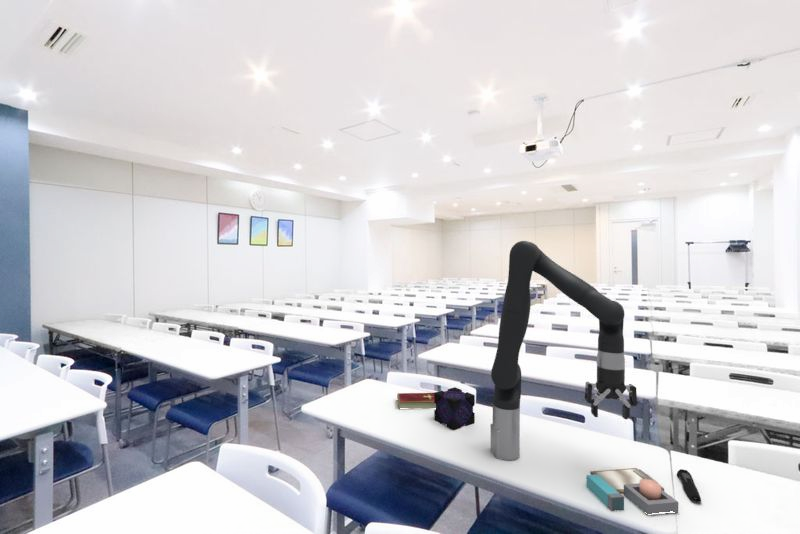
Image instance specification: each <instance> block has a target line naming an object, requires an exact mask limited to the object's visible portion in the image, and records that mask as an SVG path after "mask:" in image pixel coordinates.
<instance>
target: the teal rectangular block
mask: <svg viewBox="0 0 800 534" xmlns="http://www.w3.org/2000/svg"><path fill="white" fill-rule="evenodd" d="M585 478H586V488H587V489H588V490H589V491H590V492H591V493H593V495H594V496H595V497H597V499H599V500H600V502H602V503H603V504H604V505H605V506H606V507H607V508H608V509H609V510H610V511H611V512H615V510H616V512H618V511H617V510H619V511H625V496H624V494H620V493H619V492H618V491H616V490H615V489H614V488H613V487H612V486H611V485H609V484H608V483H607V482H606V481H605V480H604V479H603V478H601V477H600V476H599V475H598V474H595V475H592V474H586V477H585Z"/></svg>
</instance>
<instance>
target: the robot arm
mask: <svg viewBox="0 0 800 534" xmlns="http://www.w3.org/2000/svg"><path fill="white" fill-rule="evenodd" d="M508 260H509V261H508V276H507V283H506V284H507V285H506V287H505V292H504V298H503V301H502V307H501V314H500V320H499V328H498V338H497V339H498V341H497V349H496V353H495V357H494V360H493V361H494V362H493V365H492V368H491V370H490V377H491V380H492V383H493V384H494V389H493V395H492V423H490V451H491V452H492V454H493V455H494V457H495V458H496V459H500V460H506V461H514V460H517V459H519V458H520V454H521V453H520V452H521V450H520V449H521V448H520V446H521V445H520V443H521V439H520V438H521V437H520V436H521V435H520V431H521V428H520V425H521V424H520V423H521V417H520V416H521V412H520V411H521V410H520V409H521V406H520V405H521V398H522V370H521V366H520V365H519V356H520V350H521V348H522V344H523V341H524V339H525V336H526V333H527V330H528V327H529V326H528V325H529V319H530V314H531V312H530V311H531V280H532V276H533V272H534V273H535V274H538V275H540V276H541V277H542V278H544V279H545V280H547V281H548V282H550V284H552V285H553V286H554V287H555V288H556V289H557V290H559V291H560V292H561V293H563V294H564V295H565V296H567V297H568V298H569V299H571V300H572V301H574V302H575V303H577V304H578V305H579V306H581V307H582V308H585V310H587V311H588V312H589V313H590V314H592V316H593V317H595V318H596V319H598V325H599V329H598V330H599V332H598V337H597V338H598V339H597V343H598V344H597V355H596V382H595V383H592V382H589V381H586V382H585V385H584V386H585V389H584V400H585V401H586V403H587V404H590V413H591V415H592V416H594V418H599V405H598V404H599V403H600V402H601V401H603V400H605V399H607V400H610V399H613V400H617V399H619V401H621V403H622V407H621V409H622V410H621V413H622V415H621V416H622V418H623V419H624V420H628V419H629V418H630V415H631V414H630V412H631V407H637V406H638V395H637V394H638V393H637V387H636V386H635V385H633V384H632V383H629V384H625V381H626V380H625V379H626V378H625V377H626V376H625V374H626V373H625V371H626V370H625V367H626V361H625V360H626V358H625V339H624V323H625V321H624V319H625V309H624V307H623V305H622V304H620V303H619V302H618V301H617V300H612V299H610V298H609V297H608V296H606V295H604V294H602V293H601V292H599V290H598V289H596V287H594V286H592V285H591V284H589V283H588V282H587V281H585V280H584V279H582V278H581V277H579V276H577V275H576V274H574V273H572V272H571V271H569V270H568V269H565V268H564V267H562V266H561V265H559V264H558V263H556V261H553V260H552V259H551V258H550V257H549V256H547V254H545V253H544V252H543V251H542V249H540V248H539V247H538V246H537V244H535V243H534V242H531V241H527V240H521V241H517V242H516V243H514V245H512V246H511V249H510V251H509V259H508ZM595 389H596V390H597V391H596V392H595V393H594V396H593V393H592V392H593V391H594V390H595ZM625 391H627V392H628V400H627V398H626V397H625V395H624V392H625ZM592 396H593V397H592Z"/></svg>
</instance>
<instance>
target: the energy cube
mask: <svg viewBox="0 0 800 534" xmlns="http://www.w3.org/2000/svg"><path fill="white" fill-rule="evenodd" d="M433 393H434V403H436V409H433V410H434V411H433V413H434V414H433V416H434V417H433V419H434V421H435V422H437V423H439V424H441V425H442V424H443V425H445V426H446V427H447V428H448V429H449V430H451V431H454V432H455V431H457V430H459V429H462V427H463V426H468V427H469V426H471V425H474V424H475V421H476V420H475V419H476V418H475V417H476V416H475V412H474V407H475V403H476V396H475V394H473V393H470V392H467V391H466V392H465V391H463V390H462V389H460V388H459V387H455V386H454V387H450V388H448V389H447V390H445V391H443V390H438V391H436V392H433Z"/></svg>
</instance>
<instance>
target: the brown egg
mask: <svg viewBox="0 0 800 534" xmlns="http://www.w3.org/2000/svg"><path fill="white" fill-rule="evenodd" d="M657 482H658V481H657ZM657 482H655V481H652V480H649V479H641V480H640V486H639V492H640V494H641V495H642V496H644V497H645V498H646V499H647V500H649V501H650V500H660V499H661V486H662V485H661V484H660V483H659V482H658V483H657Z"/></svg>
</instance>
